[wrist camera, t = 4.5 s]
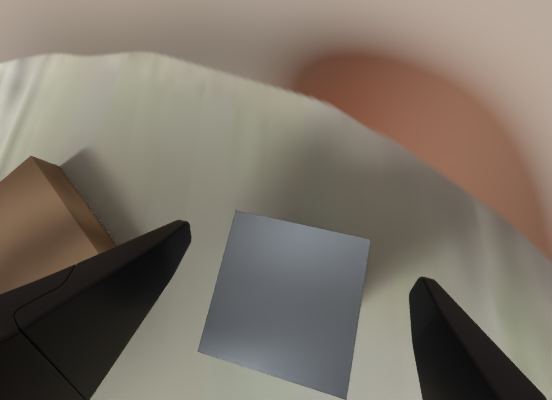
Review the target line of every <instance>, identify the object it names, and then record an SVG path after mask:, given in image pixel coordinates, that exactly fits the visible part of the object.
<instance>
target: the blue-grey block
mask: <svg viewBox="0 0 552 400" xmlns="http://www.w3.org/2000/svg"><path fill="white" fill-rule="evenodd" d="M369 247H370V239H366V238H361V237H357V236H352V235H347V234H343V233H338V232H334V231H329V230H324V229H320V228H315V227H310V226H306V225H301V224H297V223H292V222H287V221H283V220H278V219H274V218H269V217H264V216H260V215H255V214H250V213H246V212H241V211H237V210H236V211H235V215H234V218H233V222H232V226H231V230H230V233H229V237H228V241H227V244H226V248H225V252H224V256H223V259H222V263H221V267H220V270H219V274H218V278H217V281H216V285H215V289H214V293H213V296H212V300H211V304H210V307H209V311H208V315H207V319H206V322H205V326H204V330H203V333H202V337H201V341H200V344H199V348H198V352H200V353H203V354H207V355H210V356H213V357H216V358H219V359H222V360H225V361H228V362H231V363H234V364H237V365H240V366H244V367H247V368H250V369H253V370H256V371H259V372H262V373H265V374H268V375H271V376H274V377H278V378H281V379H284V380H287V381H290V382H293V383H296V384H299V385H302V386H305V387H308V388H311V389H315V390H318V391H321V392H324V393H327V394H330V395H333V396H336V397H339V398H342V399H345V400H347V393H348V386H349V380H350V373H351V366H352V360H353V353H354V346H355V340H356V333H357V327H358V320H359V313H360V307H361V300H362V293H363V287H364V280H365V274H366V267H367V260H368V254H369Z"/></svg>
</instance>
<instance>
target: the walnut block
mask: <svg viewBox="0 0 552 400" xmlns="http://www.w3.org/2000/svg"><path fill="white" fill-rule="evenodd" d="M114 247H116V244H115V243H114V242H113V240H112V239H111V237H110V236H109V235H108V233H107V232H106V231H105V229H104V228H103V226H102V225H101V224H100V222H99V221H98V220H97V218H96V217H95V215H94V214H93V213H92V211H91V210H90V208H89V207H88V206H87V204H86V203H85V202H84V200H83V199H82V197H81V196H80V195H79V193H78V192H77V190H76V189H75V188H74V186H73V185H72V184H71V182H70V181H69V179H68V178H67V177H66V175H65V174H64V173H63V171H62V170H61V168H60V167H59V166H57V165H54V164H51V163H49V162H46V161H43V160H41V159H38V158H35V157H32V156H30V157H29V158H28V159H27V160H25V161H24V162H23V163H22V164H21V165H20V166H18V167H17V168H16V169H15V170H14V171H13V172H11V173H10V174H9V175H8V176H7V177H5V178H4V179H3V180H2V181H1V182H0V294H1V293H4V292H6V291H9V290H12V289H15V288H17V287H20V286H22V285H25V284H28V283H30V282H33V281H35V280H38V279H41V278H43V277H46V276H48V275H50V274H53V273H55V272H58V271H60V270H62V269H65V268H67V267H69V266H72V265H74V264H77V263H79V262H81V261H83V260H86V259H88V258H90V257H93V256H95V255H97V254H100V253H102V252H104V251H107V250H109V249H111V248H114Z"/></svg>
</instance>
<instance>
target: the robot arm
mask: <svg viewBox="0 0 552 400" xmlns="http://www.w3.org/2000/svg"><path fill="white" fill-rule="evenodd" d="M190 243H191V231H190V224H189V223H188V222H187V221H182V220H176V221H174V222H172V223H169V224H167V225H165V226H162V227H160V228H158V229H155V230H153V231H151V232H148V233H146V234H144V235H141V236H139V237H137V238H135V239H132V240H130V241H128V242H125V243H123V244H121V245H118V246H116V247H114V248H111V249H109V250H107V251H104V252H102V253H100V254H97V255H95V256H93V257H90V258H88V259H86V260H83V261H81V262H79V263H77V264H74V265H72V266H69V267H67V268H65V269H62V270H60V271H58V272H55V273H53V274H50V275H48V276H46V277H43V278H41V279H38V280H35V281H33V282H30V283H28V284H25V285H22V286H20V287H17V288H15V289H12V290H9V291H6V292H4V293H1V294H0V400H90V399H91V397H92V396H93V394H94V393H95V391H96V390H97V388H98V387H99V385H100V384H101V382H102V381H103V379H104V378H105V376H106V375H107V373H108V372H109V370H110V369H111V367H112V366H113V364H114V363H115V361H116V360H117V359H118V357H119V356H120V354H121V353H122V351H123V350H124V348H125V347H126V345H127V344H128V342H129V341H130V339H131V338H132V336H133V335H134V333H135V332H136V330H137V329H138V327H139V326H140V324H141V323H142V321H143V320H144V318H145V317H146V315H147V314H148V312H149V311H150V309H151V308H152V307H153V305H154V304H155V302H156V301H157V299H158V298H159V296H160V295H161V293H162V292H163V290H164V289H165V287H166V286H167V284H168V283H169V281H170V280H171V278H172V277H173V275H174V273H175V271H176V269H177V267H178V266H179V264H180V262H181V260H182V258H183V256H184V254H185V252H186V250H187V249H188V247H189V245H190ZM409 305H410V319H411V333H412V343H413V350H414V355H415V361H416V366H417V371H418V377H419V382H420V387H421V393H422V398H423V400H547V399H546V397H545V396H544V395H543V394H542V393H541V392H540V391H539V390H538V389H537V388H536V386H535V385H534V384H533V383H532V382H531V381H530V380H529V379H528V378H527V377H526V376H525V375H524V374H523V373H522V372H521V371H520V370H519V369H518V367H517V366H516V365H515V364H514V363H513V362H512V361H511V360H510V359H509V358H508V357H507V356H506V355H505V354H504V353H503V352H502V351H501V349H500V348H499V347H498V346H497V345H496V344H495V343H494V342H493V341H492V340H491V339H490V338H489V337H488V336H487V335H486V334H485V333H484V332H483V330H482V329H481V328H480V327H479V326H478V325H477V324H476V323H475V322H474V321H473V320H472V319H471V318H470V317H469V316H468V315H467V314H466V313H465V311H464V310H463V309H462V308H461V307H460V306H459V305H458V304H457V303H456V302H455V301H454V300H453V299H452V298H451V297H450V296H449V295H448V293H447V292H446V291H445V290H444V289H443V288H442V287H441V286H440V285H439V284H438V283H437V282H436V281H435V280H433V279H430V278H426V277H420V278H418V280H417V281H416V283H415V284H414V286H413V288H412V289H411V291H410V294H409Z"/></svg>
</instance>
